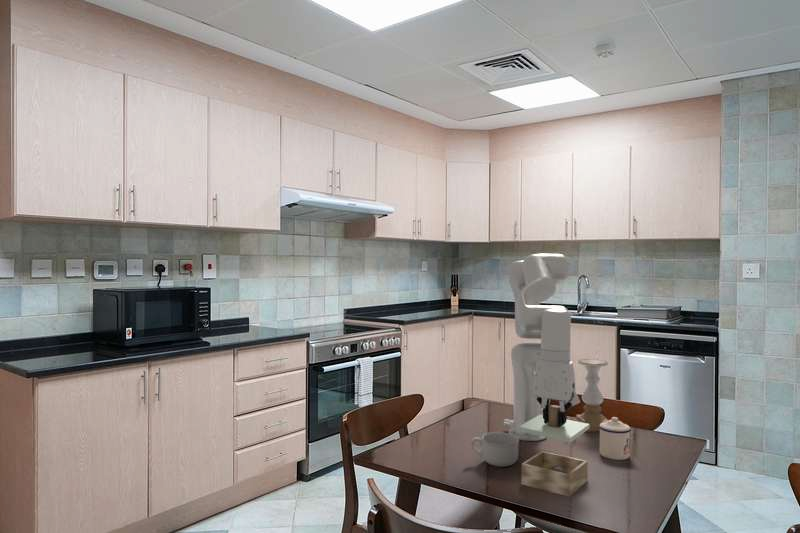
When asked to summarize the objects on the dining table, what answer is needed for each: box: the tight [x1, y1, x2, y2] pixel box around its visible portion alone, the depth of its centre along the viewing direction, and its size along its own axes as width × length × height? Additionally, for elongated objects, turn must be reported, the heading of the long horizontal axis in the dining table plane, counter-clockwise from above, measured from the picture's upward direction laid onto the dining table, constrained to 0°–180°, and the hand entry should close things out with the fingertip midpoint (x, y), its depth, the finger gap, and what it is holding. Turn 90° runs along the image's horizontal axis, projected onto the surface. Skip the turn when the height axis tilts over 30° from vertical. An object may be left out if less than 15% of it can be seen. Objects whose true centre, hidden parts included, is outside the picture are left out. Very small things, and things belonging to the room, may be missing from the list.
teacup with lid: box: [599, 416, 631, 461], centre depth 173 cm, size 12×9×12 cm
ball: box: [553, 467, 565, 473], centre depth 151 cm, size 3×3×3 cm
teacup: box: [470, 431, 520, 468], centre depth 164 cm, size 14×11×8 cm
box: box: [520, 450, 589, 498], centre depth 149 cm, size 13×13×6 cm
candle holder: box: [572, 358, 610, 433], centre depth 202 cm, size 11×11×24 cm
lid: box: [519, 404, 590, 444], centre depth 149 cm, size 14×14×6 cm
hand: (554, 423), depth 149 cm, fingers closed on lid, 3 cm apart
